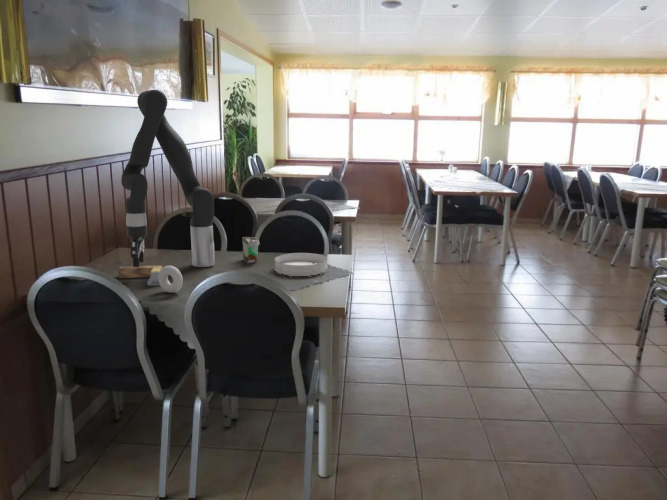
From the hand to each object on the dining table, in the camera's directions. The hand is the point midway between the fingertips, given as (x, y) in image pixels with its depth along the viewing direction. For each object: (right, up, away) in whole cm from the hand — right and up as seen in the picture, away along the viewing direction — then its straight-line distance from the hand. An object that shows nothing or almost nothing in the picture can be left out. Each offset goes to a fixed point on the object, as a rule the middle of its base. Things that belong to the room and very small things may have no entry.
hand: (138, 264), depth 218 cm
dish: (+64, -3, +12) cm, 65 cm away
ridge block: (+10, -7, -7) cm, 14 cm away
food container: (+41, +1, +26) cm, 49 cm away
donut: (+19, -10, -20) cm, 29 cm away
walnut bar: (+1, -5, +1) cm, 5 cm away
